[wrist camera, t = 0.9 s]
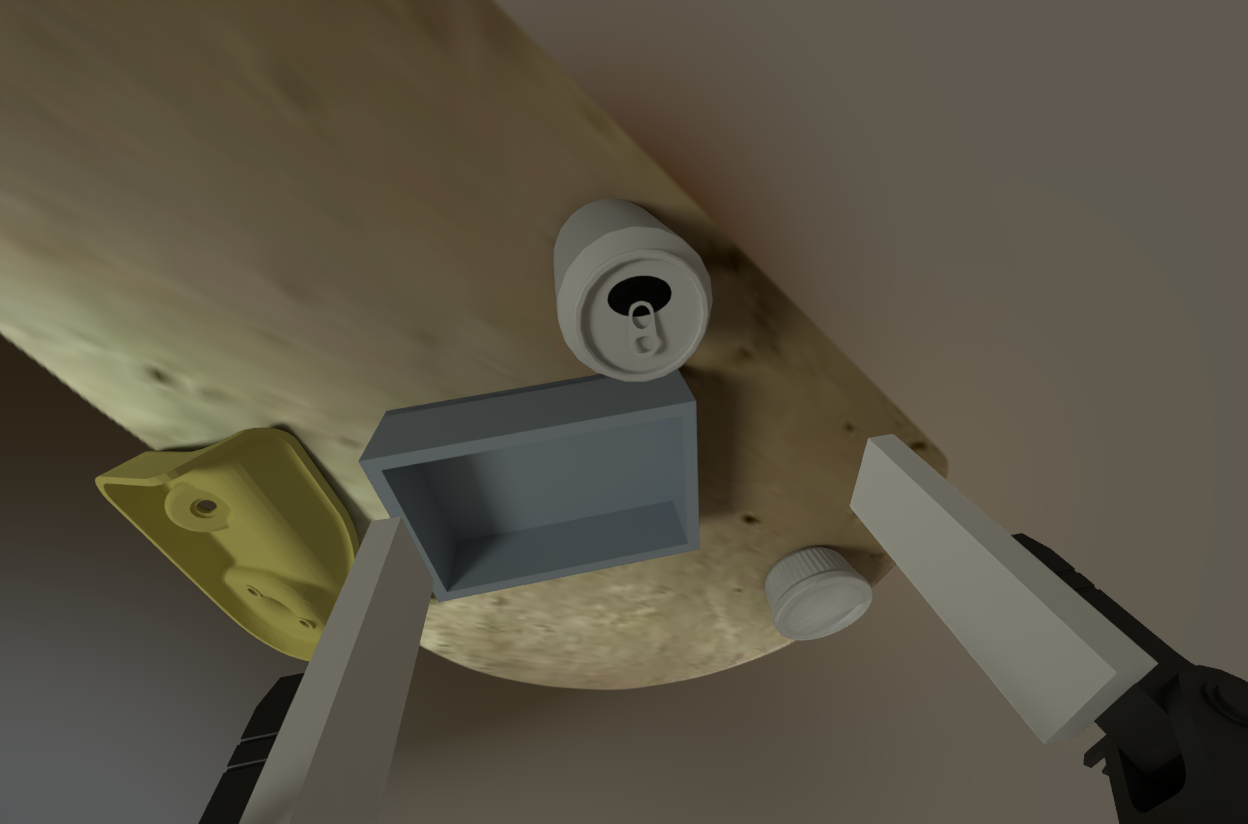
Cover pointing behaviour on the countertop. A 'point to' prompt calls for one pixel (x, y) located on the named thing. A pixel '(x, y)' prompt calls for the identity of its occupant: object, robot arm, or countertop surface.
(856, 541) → the countertop surface
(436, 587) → the bin
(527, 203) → the countertop surface
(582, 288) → the can
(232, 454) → the plastic component
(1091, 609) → the robot arm
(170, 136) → the countertop surface
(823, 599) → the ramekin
